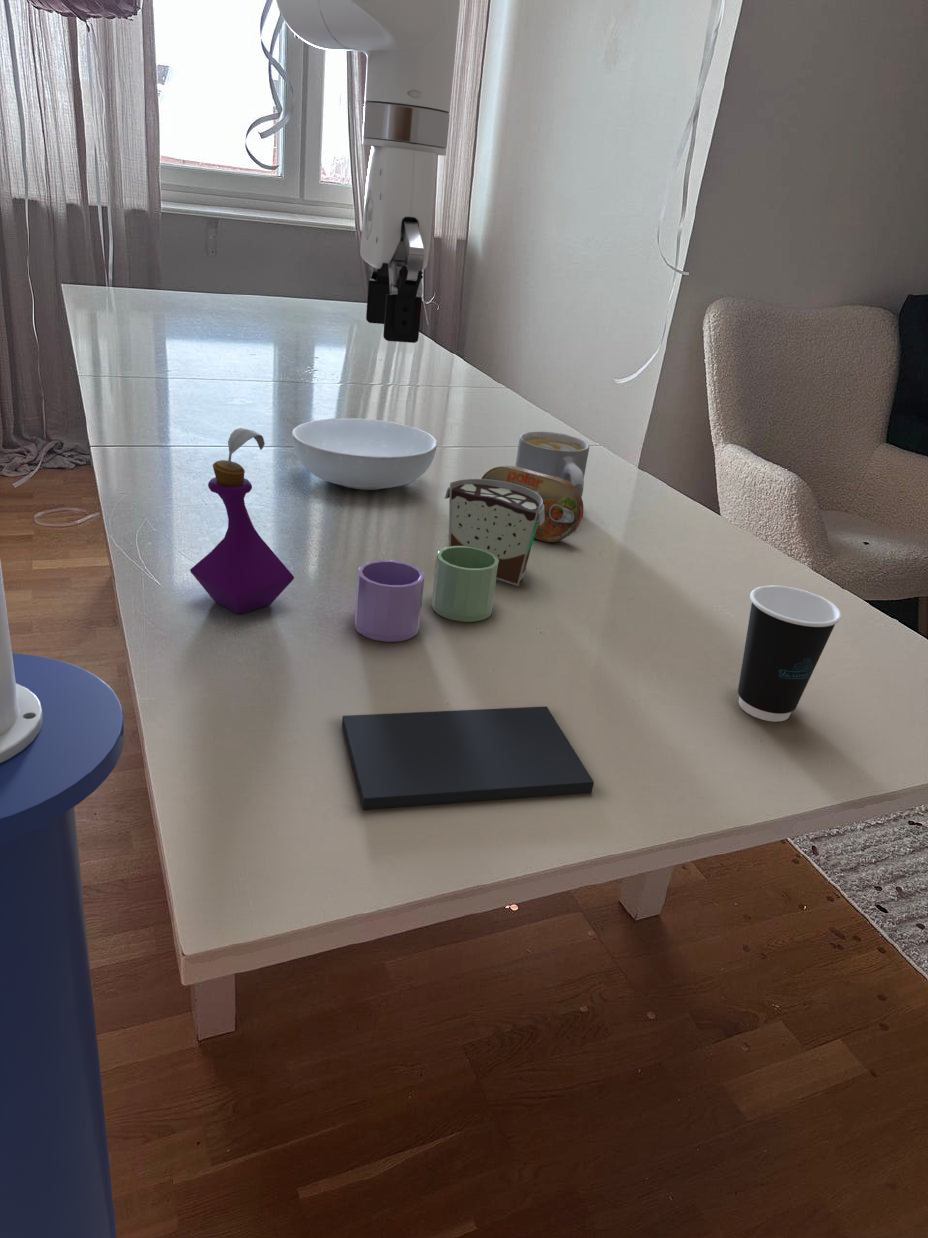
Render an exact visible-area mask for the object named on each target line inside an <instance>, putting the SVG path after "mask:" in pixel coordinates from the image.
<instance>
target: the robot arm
mask: <svg viewBox="0 0 928 1238" xmlns="http://www.w3.org/2000/svg"><path fill="white" fill-rule="evenodd" d="M275 1H276V4H277V8H278V10H279V13H280V15H281V17H282V19H283V21H284V23H285V24H286V25H287V27H288V28H289V29H290V30H291V32H292V33H294V35H296V37H297V38H299V39H300V40H302V41H303V42H305V43H306V44H307V45H311V46H313V47H315V48H318V49H321V50H327V51H328V50H329V51H355V52H362V53H363V54H364V55H366V67H365V68H366V69H365V84H364V85H365V86H364V87H365V88H364V103H363V105H364V106H363V120H362V121H363V123H362V140H361V145H362V146H365V147H371V149H370V155H369V160H368V168H367V175H366V181H365V191H364V192H365V195H364V204H363V217H362V225H361V234H360V235H361V236H360V237H361V238H360V247H359V253H360V257H361V259H362V260H363V261H365V263H367V264H368V265H369V266H370V268H369V279H368V282H367V296H366V297H367V298H366V315H365V320H366V321H367V322H368V323H369V324H377V325H383V339H384V340H385V341H387V342H395V343H397V342H398V343H409V344H410V343H411V344H415V343H418V342H419V338H420V325H421V315H422V314H421V312H422V304H423V303H422V301H423V278H424V275H423V274H424V270H425V269H426V268H427V266H428V263H429V257H430V251H431V250H430V249H431V239H432V228H433V215H434V214H433V213H434V200H435V181H436V156H443V157H445V156H447V150H448V149H447V148H448V139H449V138H448V137H449V128H450V115H451V114H450V113H451V102H452V93H453V83H454V75H455V73H454V72H455V64H456V52H457V42H458V41H457V40H458V31H459V30H458V29H459V18H460V8H461V0H275ZM2 570H3V569H2V561H1V559H0V763H2V762H4V761H6V760H8V759H10V758H12V757H13V756H15V755H16V754H18V753H19V752H21V751H22V750H23V749H25V748H26V747H27V746H28V745H29V744H30V743H31V742H32V741H33V740H34V739H35V737H36V736H37V735H38V733H39V732H40V729H41V726H42V723H43V719H42V708H41V704H40V701H39V700H38V698H37V697H36V695H35V694H33V693H32V692H31V691H30V690H28V689H27V688H25V687H23V686H21V685H19V684H17V683H16V681H15V673H14V665H13V657H12V653H13V649H12V641H11V635H10V626H9V618H8V610H7V602H6V592H5V585H4V578H3V571H2Z"/></svg>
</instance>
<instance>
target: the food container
mask: <svg viewBox="0 0 928 1238" xmlns="http://www.w3.org/2000/svg"><path fill="white" fill-rule="evenodd" d="M444 499H445V500H448V499H449V507H448V508H449V509H448V510H449V511H448V514H449V515H448V547H451V546H470V547H476V548H480V549H483V550H486V551H489V552H491V553H492V554H494V555H496V557H497V558H498V559H499V565H498V572H497V579H496V581H500V582H502V583H507V584H510V585H513V586H516V587H519V586H521V585H522V583H523V580H524V577H525V573H526V568H527V565H528V562H529V559H530V554H531V551H532V547H533V543H534V539H535V538H534V536H535V532H536V528H537V525H538V521H539V525H542V524H543V522H544V521H545V514H544V505H543V500H542V498H541V497H540V495H538V494H537V493H536V492H534V491H532V490H530V489H528V488H525V487H523V486H520V485H516V484H513V483H509V482H504V481H497V480H489V479H481V478H465V479H458V480H454V481H452V482H450V483H449V486H448V487H447V489H446V492H445V496H444Z"/></svg>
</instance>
